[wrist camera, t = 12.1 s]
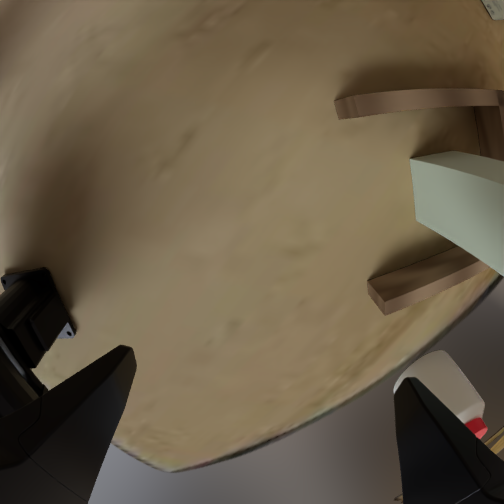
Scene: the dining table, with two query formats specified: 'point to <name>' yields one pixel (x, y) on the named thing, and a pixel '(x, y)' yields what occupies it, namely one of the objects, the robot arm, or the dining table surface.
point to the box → (491, 146)
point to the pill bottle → (449, 388)
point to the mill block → (462, 202)
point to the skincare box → (495, 8)
